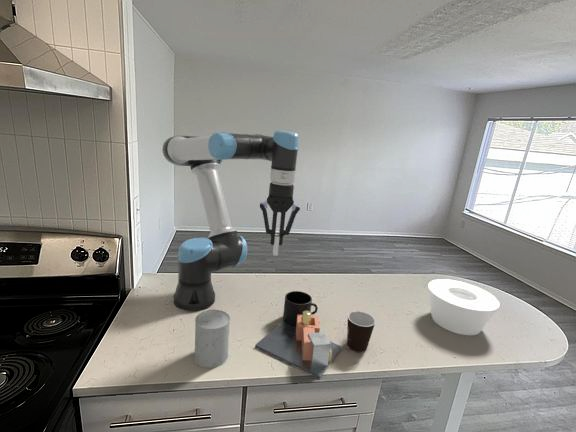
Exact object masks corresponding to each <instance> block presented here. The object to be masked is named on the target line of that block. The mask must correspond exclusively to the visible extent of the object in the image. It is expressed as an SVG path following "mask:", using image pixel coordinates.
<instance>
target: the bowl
mask: <svg viewBox="0 0 576 432" xmlns="http://www.w3.org/2000/svg"><path fill="white" fill-rule="evenodd" d="M427 285H428V294H429V295H428V296H429V305H430V314H431V318H432V320H433V322H435V323H436V324H437V325H438V326H440V327H441V328H443V329H445V330H447V331H449V332H451V333H455V334H458V335H462V336H476V335H479V334H480V333H481V332H482V331H483V329H484V327H486V325H487V323H488V322H489V321H490V320H491V318H492V317H493V316H494V314H495V313H496V312H497V310H498V309H499V307H500V304H501V303H500V301H499V300H498V299H497V298H496V296H495V295H494V294H492V293H490V292H489V291H487V290H485V289H484V288H481V287H479V286H476V285H473V284H470V283H467V282H464V281H460V280H455V279H447V278H445V279H444V278H440V279H439V278H437V279H432V280H431V281H430V282H428V284H427Z"/></svg>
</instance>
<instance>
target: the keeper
mask: <svg viewBox="0 0 576 432" xmlns="http://www.w3.org/2000/svg"><path fill="white" fill-rule="evenodd" d="M308 338H309V340H310V342H311V344H312V346H313V347H312V355H311V363H310V366H311V368H314V367H323V366H328V362H331V356H332V350H331V349H330V346H331V343H330V342H331V341H330V340H329V337H328V336H327V334H326V333H325V332H323V331H319V333H308ZM329 341H330V342H329ZM331 363H332V362H331ZM328 367H329V366H328Z"/></svg>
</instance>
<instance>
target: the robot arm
mask: <svg viewBox="0 0 576 432" xmlns="http://www.w3.org/2000/svg"><path fill="white" fill-rule="evenodd" d="M298 151H299V134H298V133H296V132H292V131H284V130H283V131H281V130H275V131H274V133H273V136H269V135H263V134H258V133H257V134H250V133H246V134H245V133H242V134H241V133H232V132H231V133H230V132H225V131H224V132H223V131H222V132H214V133H212V135H205V136H195V135H194V136H193V135H192V136H191V135H174V136H170V137H168V138H167V139H166V140H165V141H164V143H163V144H162V154H163V157H164V158H165V160H167V161H168V162H169V163H170V164H172V165H175V166H179V167H190V171H191V173H192V174H193V175H195V176H196V178H197V184H198V187H199V192H200V195H201V199H202V203H203V208H204V212H205V215H206V221H207V225H208V227H209V232H210V233H209V235H208V237H194V238H190V239H187V240H185V241H183V242H182V243H181V244H180V246H179V248H178V251H177V252H178V254H177V261H178V265H177V267H178V268H177V269H178V270H177V272H178V274H177V275H178V276H177V277H178V280H177V281H178V282H177V285H176V288H175V291H174V293H173V295H172V296H173V297H172V298H173V299H172V301H173V303H172V304H173V305H174V307H175V308H177V309H179V310H181V311H184V312H185V311H186V312H198V311H202V310H203V311H204V310H206V309H208V308H210V307H212V306H213V305H214V304H215V302H216V293H215V290H214V286H213V283H212V273H214V272H219V271H222V270H226V269H230V268H234V267H236V266H238V265H241V264H243V263H244V262H245V260H246V258H247V255H248V244H247V241H246V239H245V238H244V236H242V235H239V234H238V230H237V229H235V228H234V227H232V222H231V218H230V215H229V209H228V207H227V202H226V199H225V194H224V190H223V186H222V183H221V179H220V174H219V170H220V168H221V164H222V163H223V160H226V161H227V160H264V161H270V162H271V166H270V176H269V180H270V183H269V189H268V197H267V198H266V200H265V201H263V202H260V203H259V208H260V210H261V211H262V215H263V221H264V222H263V223H264V228H265V229H264V230H265V233H266V234H267V235H270V245H271V246H273V247H272V256H275V257H276V256H277V257H278V256H279V247H280V246H282V245H283V242H284V240H283V239H284V236H288V235H290V232H291V229H292V227H293V224H294V222H295V218H296V216H297V214H298V213H299V212H300V210H301V207H300V205H298V204H296V203H295V202H294V199H293V198H294V190H295V186H294V183H295V179H296V177H295V176H296V167H297V157H298ZM268 206H269V208H270V210H271V211H272V221H271V228H270V224H269V222H270V221H269V217H268V211H267V209H268ZM290 208H291V213H290V215H289V219H288V221H287V224H286V226H285V222H286V220H285V219H286V215H287V214H286V213H287V212H288V211H289V210H290ZM278 213H280V219H279V220H280V221H279V230H278V231H279V232H278V233H276V230H277V221H278V219H277V217H278Z"/></svg>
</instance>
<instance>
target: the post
mask: <svg viewBox="0 0 576 432" xmlns="http://www.w3.org/2000/svg"><path fill="white" fill-rule="evenodd" d="M311 312H312V311H311ZM311 312H310V311H303V315H302V325H310V322H311V316H312V315H311Z"/></svg>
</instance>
